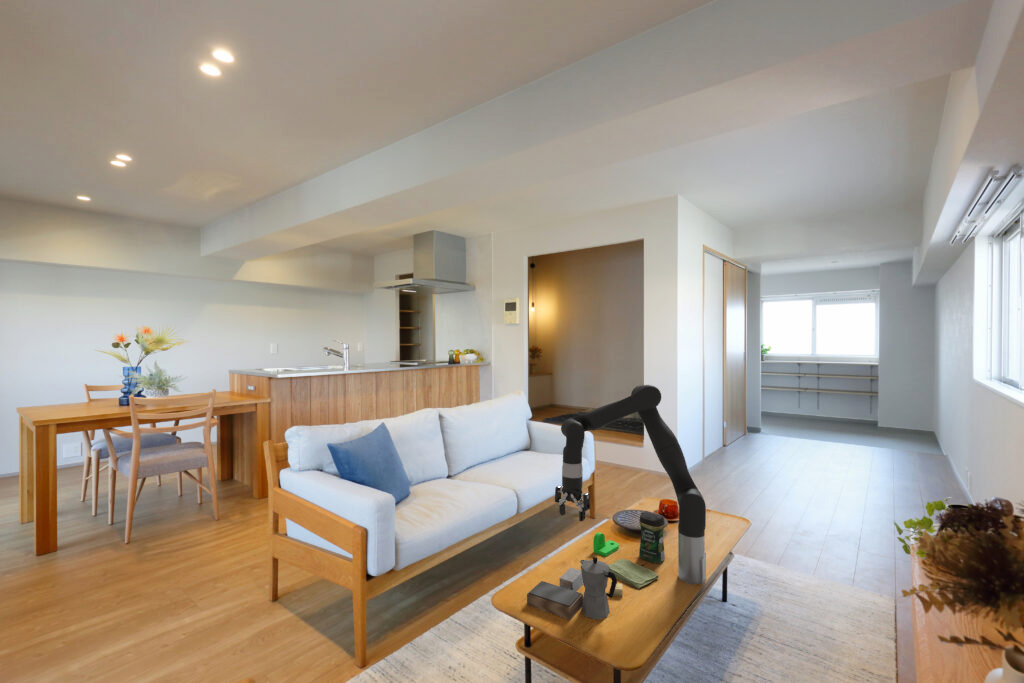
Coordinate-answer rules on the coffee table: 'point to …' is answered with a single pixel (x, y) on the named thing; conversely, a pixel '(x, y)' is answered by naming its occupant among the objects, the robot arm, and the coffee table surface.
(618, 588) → the brass block
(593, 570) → the coffeepot
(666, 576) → the coffee table surface
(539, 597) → the stand
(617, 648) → the coffee table surface
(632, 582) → the washcloth
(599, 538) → the mechanical part
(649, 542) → the coffee jar
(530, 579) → the coffee table surface
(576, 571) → the block
